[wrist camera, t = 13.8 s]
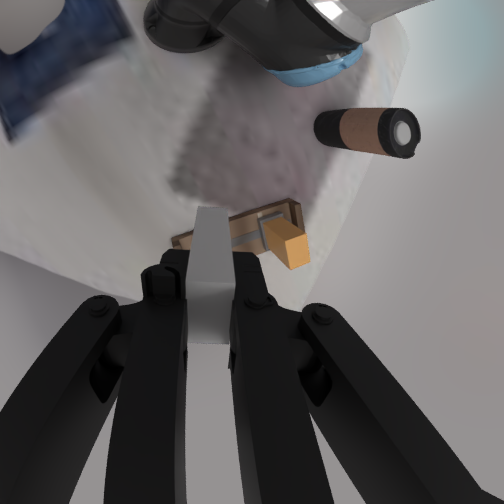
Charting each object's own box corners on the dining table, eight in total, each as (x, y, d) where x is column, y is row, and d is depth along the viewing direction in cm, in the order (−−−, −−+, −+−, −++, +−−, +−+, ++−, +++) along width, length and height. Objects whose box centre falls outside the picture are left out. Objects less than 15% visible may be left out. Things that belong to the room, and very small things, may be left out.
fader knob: (263, 248, 51) (288, 273, 42) (257, 218, 48) (281, 239, 39) (284, 240, 52) (312, 263, 42) (279, 211, 49) (308, 229, 40)
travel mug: (308, 113, 45) (385, 109, 28) (339, 107, 47) (417, 106, 29) (316, 150, 49) (392, 164, 32) (346, 143, 50) (423, 155, 33)
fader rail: (186, 275, 50) (189, 287, 46) (171, 238, 47) (173, 247, 43) (295, 235, 55) (306, 243, 51) (289, 198, 51) (300, 203, 47)
